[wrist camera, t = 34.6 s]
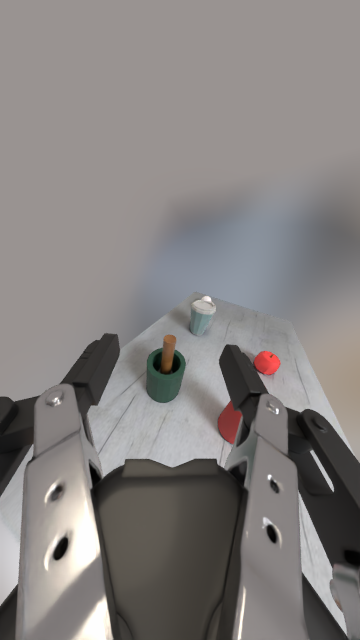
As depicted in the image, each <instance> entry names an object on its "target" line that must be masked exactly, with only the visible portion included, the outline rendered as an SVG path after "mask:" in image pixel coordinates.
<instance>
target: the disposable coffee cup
mask: <svg viewBox="0 0 360 640" xmlns="http://www.w3.org/2000/svg"><path fill="white" fill-rule="evenodd" d="M215 310H216V308H215V304H214V303H212V302H210V301H206V300H197V301H195V302H193V303H192V305H191V322H190V330H191V332H192V333H193V334H195V335H202V334H203V333H204V331H205V329H206V327H207V325H208V323H209V321H210V319H211V317H212V315H213V314H214V313H215Z"/></svg>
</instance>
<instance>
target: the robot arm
mask: <svg viewBox="0 0 360 640" xmlns="http://www.w3.org/2000/svg"><path fill="white" fill-rule="evenodd" d="M119 353H120V348H119V341H118V335H117V334H108V333H106V334H104V335H103V336H102V338H101V339H100V340H95V341H94V342H92V343H91V344H90V345H88V347H87V348H86V349H85V351H84V352H83V354H82V355H81V356H80V358H79V359H78V360H77V361H76V363H75V364H74V365H73V367H72V368H71V370H70V371H69V372H68V374H67V375H66V377H65V378H64V379H63V381H62V382H61V383H60V384H59V385H56V386H54V387H51V388H50V389H48V390H47V391H45V392H44V393H43V394H42V395H40V396H37V397H32V398H28V399H24V400H19V401H15V402H14V401H12V400H11V399H10V398H9V397H0V497H1V495H2V493H3V492H4V490H5V488H6V487H7V485H8V484H9V482H10V480H11V479H12V477H13V475H14V474H15V472H16V470H17V469H18V467H19V465H20V464H21V462H22V460H23V459H24V457H25V456H26V454H27V452H28V451H29V449H30V447H31V446H32V444H34V451H33V457H32V459H31V460H30V461H29V462H28V463H27V465H26V468H25V472H24V484H23V503H22V522H21V541H20V560H19V579H18V584H17V585H16V587H15V588H14V589H13V590H12V592H11V593H10V594H9V596H8V597H7V598H6V599H5V601H4V602H3V603H2V604H1V606H0V640H360V463H359V462H358V460H357V459H356V458H355V456H354V455H353V454H352V452H351V451H350V450H349V448H348V447H347V446H346V444H345V443H344V442H343V440H342V439H341V438H340V436H339V435H338V434H337V432H336V431H335V430H334V428H333V427H332V425H331V424H330V423H329V422H328V421H327V420H326V419H325V418H324V417H323V416H322V415H320V414H319V413H317V412H316V411H313V410H310V409H305V410H304V411H302V412H301V413H300V412H298V411H295V410H292V409H290V408H287V407H285V406H284V405H283V404H282V403H281V401H280V400H278V399H277V398H276V397H274V396H272V395H270V394H269V393H268V391H267V389H266V388H265V386H264V384H263V382H262V380H261V379H260V377H259V375H258V373H257V372H256V370H255V368H254V366H253V364H252V363H251V361H250V359H249V358H248V357H247V356H246V355H245V354H244V353H241V351H240V349H239V347H238V346H237V345H228V344H227V345H226V346H225V348H224V350H223V352H222V354H221V356H220V359H219V364H220V368H221V371H222V374H223V377H224V380H225V383H226V387H227V390H228V393H229V396H230V399H231V402H232V405H233V408H234V411H241V413H242V416H241V419H240V423H239V426H238V430H237V433H236V437H235V441H234V444H233V447H232V450H231V452H230V453H229V455H228V458H227V460H226V463H225V466H224V468H223V467H221V466H219V465H218V464H217V459H194V460H191V461H189V462H186V463H184V464H181V465H179V466H176V467H173V468H172V467H168V466H166V465H163V464H161V463H158V462H155V461H153V460H150V459H125V464H124V465H122V466H120V467H118V468H116V469H114V470H113V471H111V472H110V473H108V474H107V475H106V476H105V477H104V476H103V472H102V468H101V464H100V460H99V457H98V454H97V451H96V448H95V444H94V440H93V436H92V431H91V427H90V423H89V419H88V414H87V412H88V410H89V408H90V406H91V405H95V406H98V403H99V401H100V399H101V396H102V394H103V392H104V390H105V387H106V385H107V383H108V380H109V378H110V376H111V374H112V371H113V369H114V367H115V364H116V362H117V360H118V357H119ZM311 450H314V452H315V454H316V455H317V457H318V459H319V460H320V462H321V464H322V466H323V467H324V469H325V471H326V473H327V474H328V476H329V478H330V479H331V481H332V484H333V486H334V492H333V491H332V490H331V488H330V487H329V485H328V483H327V481H326V480H325V478H324V476H323V474H322V473H321V471H320V469H319V467H318V465H317V464H316V462H315V460H314V458H313V456H312V455H311V453H310V451H311ZM298 490H299V492H300V495H301V497H302V499H303V502H304V504H305V506H306V509H307V511H308V513H309V515H310V518H311V520H312V522H313V525H314V527H315V529H316V532H317V534H318V536H319V538H320V541H321V543H322V545H323V548H324V550H325V552H326V555H327V557H328V559H329V561H330V564H331V566H332V568H333V571H332V575H333V579H331V580H330V590H331V594H332V596H333V599H334V601H335V603H336V604H337V606H338V608H339V609H340V610H341V611H342V612H343V615H344V618H345V623H346V628H347V636H346V634H345V633H344V631H343V630H342V629H341V627H340V626H339V624H338V623H337V621H336V620H335V619H334V617H333V616H332V614H331V613H330V611H329V610H328V608H327V607H326V606H325V604H324V603H323V601H322V600H321V598H320V597H319V596H318V594H317V593H316V591H315V590H314V588H313V587H312V586H311V584H310V583H309V581H308V580H307V578H306V577H305V576H304V574H303V573H302V570H301V547H300V524H299V500H298Z"/></svg>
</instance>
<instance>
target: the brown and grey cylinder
mask: <svg viewBox="0 0 360 640" xmlns="http://www.w3.org/2000/svg"><path fill="white" fill-rule="evenodd" d="M175 344H176V337H175V336H173V335H166V336H165V337H164V341H163V351H162V360H161V368H160V369H159V370H158V372H159V373H161V374H165V375H169V374H173V372H172V370H171V367H172V361H173V356H174V350H175Z"/></svg>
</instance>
